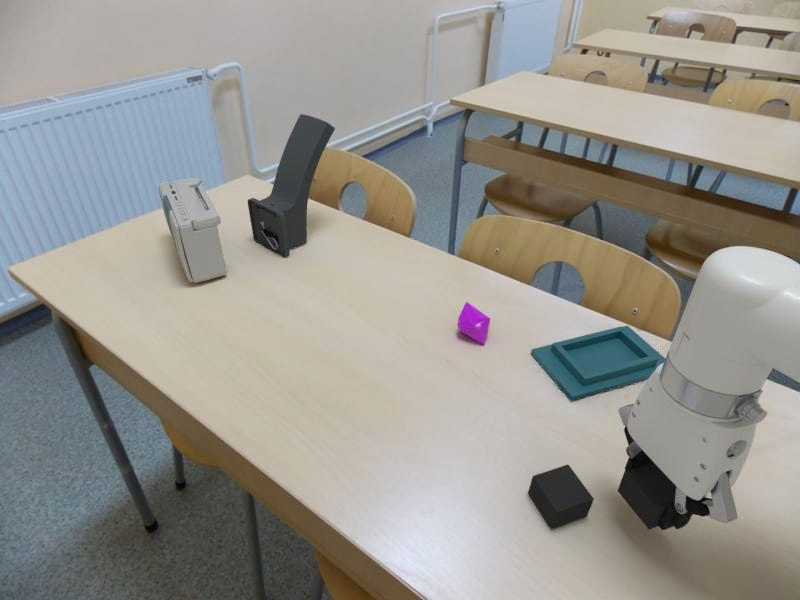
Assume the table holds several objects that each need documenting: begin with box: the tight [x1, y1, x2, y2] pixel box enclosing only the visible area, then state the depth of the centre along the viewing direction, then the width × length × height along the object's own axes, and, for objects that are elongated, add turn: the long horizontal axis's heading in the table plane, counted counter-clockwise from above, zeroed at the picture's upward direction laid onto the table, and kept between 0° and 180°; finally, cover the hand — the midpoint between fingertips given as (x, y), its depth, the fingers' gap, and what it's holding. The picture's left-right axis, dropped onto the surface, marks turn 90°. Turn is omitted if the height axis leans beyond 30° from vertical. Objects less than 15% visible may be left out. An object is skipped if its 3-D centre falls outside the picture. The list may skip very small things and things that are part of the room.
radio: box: [158, 177, 227, 284], centre depth 100 cm, size 21×8×20 cm, turn 28°
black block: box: [617, 462, 676, 530], centre depth 56 cm, size 5×5×4 cm
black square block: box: [527, 464, 595, 530], centre depth 61 cm, size 5×5×4 cm
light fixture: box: [247, 113, 336, 258], centre depth 107 cm, size 11×17×24 cm, turn 139°
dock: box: [530, 325, 666, 402], centre depth 81 cm, size 11×19×2 cm, turn 110°
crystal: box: [457, 301, 491, 346], centre depth 86 cm, size 5×5×5 cm
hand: (652, 500), depth 57 cm, fingers closed on black block, 5 cm apart
